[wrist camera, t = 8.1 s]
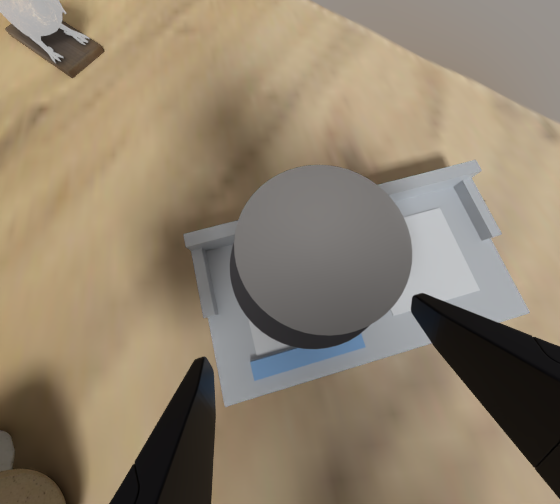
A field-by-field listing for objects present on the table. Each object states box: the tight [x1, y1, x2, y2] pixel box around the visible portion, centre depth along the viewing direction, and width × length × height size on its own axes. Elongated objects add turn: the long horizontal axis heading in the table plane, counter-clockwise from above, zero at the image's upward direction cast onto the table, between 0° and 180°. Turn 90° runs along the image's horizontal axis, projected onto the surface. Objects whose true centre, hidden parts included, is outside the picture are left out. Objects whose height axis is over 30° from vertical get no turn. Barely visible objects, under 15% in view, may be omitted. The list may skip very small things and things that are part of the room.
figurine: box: [0, 0, 104, 78], centre depth 20 cm, size 14×4×9 cm, turn 54°
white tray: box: [183, 160, 530, 407], centre depth 17 cm, size 23×12×2 cm, turn 105°
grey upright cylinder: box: [230, 165, 412, 349], centre depth 11 cm, size 5×5×13 cm
